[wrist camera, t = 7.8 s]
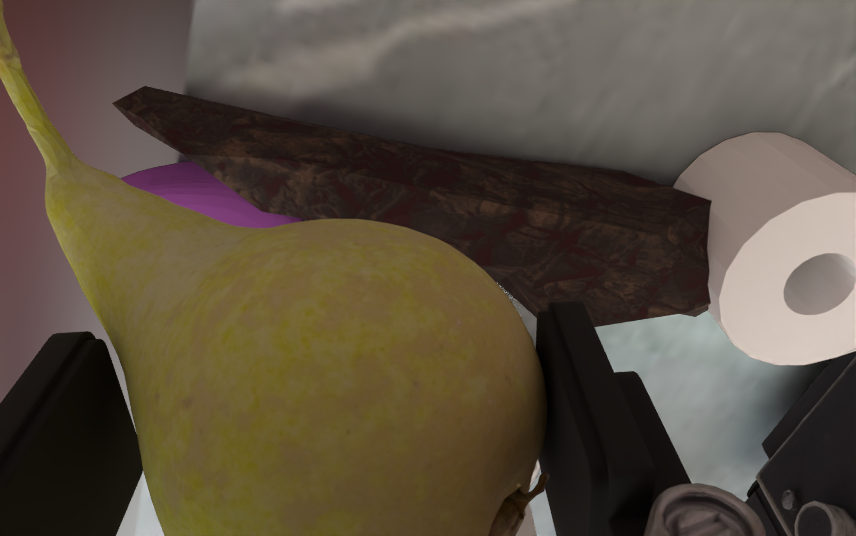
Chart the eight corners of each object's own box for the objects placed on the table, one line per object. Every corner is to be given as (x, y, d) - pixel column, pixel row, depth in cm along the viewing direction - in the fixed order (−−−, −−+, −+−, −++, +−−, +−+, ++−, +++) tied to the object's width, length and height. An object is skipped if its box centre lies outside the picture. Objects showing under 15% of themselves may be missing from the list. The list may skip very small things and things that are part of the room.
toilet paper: (874, 264, 36) (971, 343, 30) (657, 293, 36) (711, 377, 30) (908, 110, 32) (1029, 166, 26) (664, 144, 32) (727, 207, 26)
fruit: (545, 489, 16) (177, 205, 19) (712, 274, 10) (148, -75, 13) (347, 783, 11) (-79, 353, 15) (442, 693, 6) (-274, 39, 9)
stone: (706, 273, 36) (760, 83, 30) (748, 354, 31) (821, 143, 25) (180, 262, 36) (135, 74, 31) (135, 338, 31) (71, 130, 26)
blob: (232, 473, 35) (254, 405, 40) (411, 383, 32) (413, 319, 36) (-1, 275, 29) (54, 218, 33) (190, 137, 26) (224, 93, 30)
